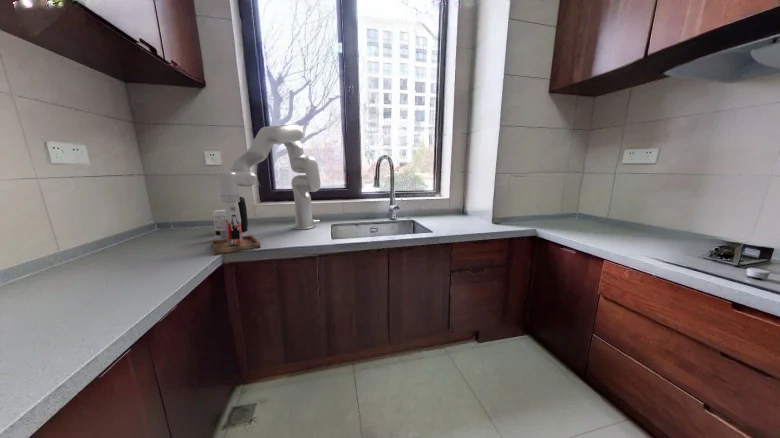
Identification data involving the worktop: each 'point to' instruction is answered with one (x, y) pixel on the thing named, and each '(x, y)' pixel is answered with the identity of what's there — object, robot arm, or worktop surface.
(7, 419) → the worktop surface
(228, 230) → the soda can
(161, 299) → the worktop surface
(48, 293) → the worktop surface
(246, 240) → the tray
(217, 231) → the supplement can
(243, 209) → the portable speaker
